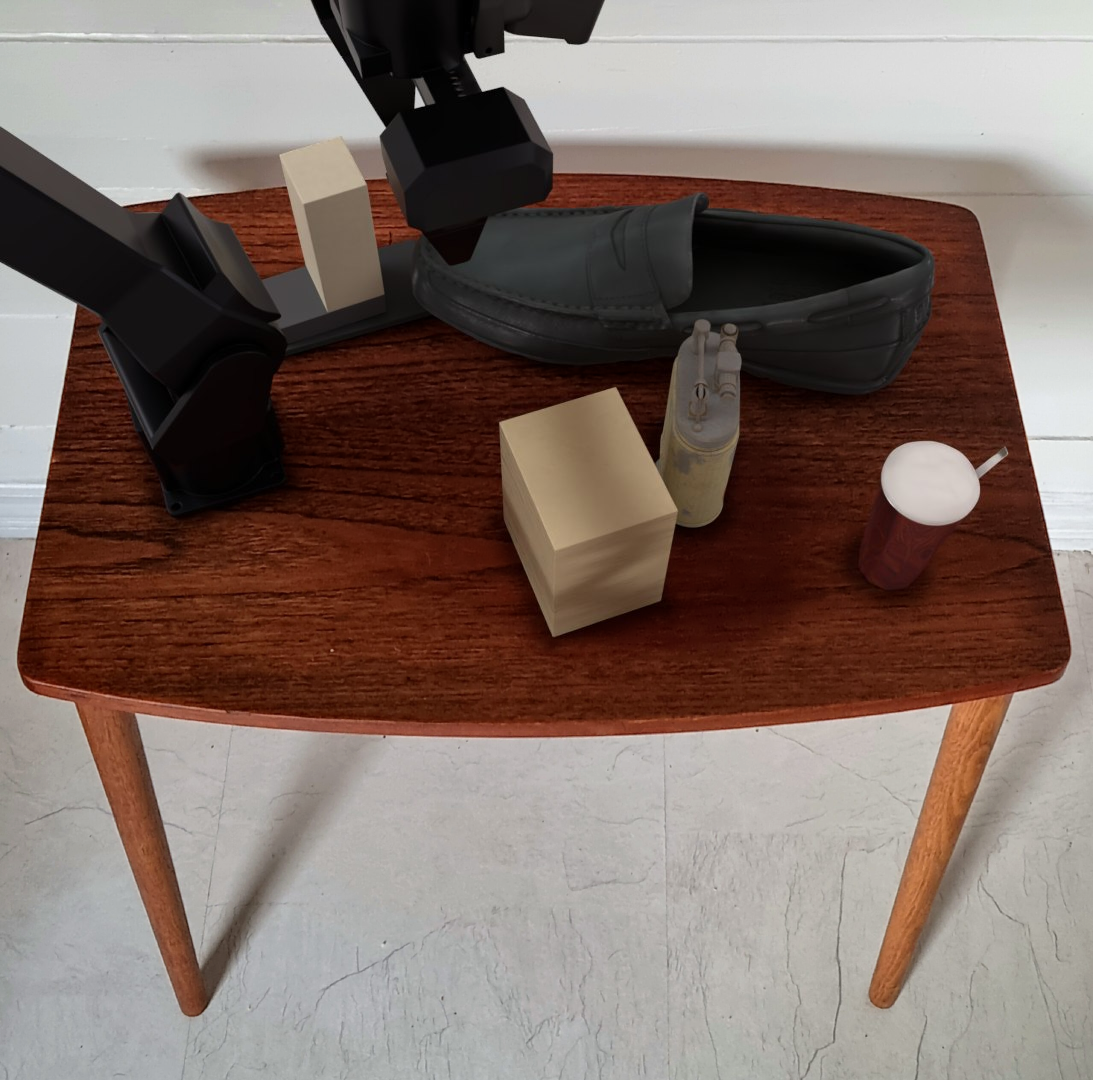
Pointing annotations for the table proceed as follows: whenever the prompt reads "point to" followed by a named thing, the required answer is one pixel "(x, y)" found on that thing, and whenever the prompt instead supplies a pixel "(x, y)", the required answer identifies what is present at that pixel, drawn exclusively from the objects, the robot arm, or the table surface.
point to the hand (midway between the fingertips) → (428, 195)
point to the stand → (586, 510)
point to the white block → (328, 244)
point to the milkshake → (917, 509)
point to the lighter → (701, 423)
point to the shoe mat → (397, 297)
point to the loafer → (689, 289)
